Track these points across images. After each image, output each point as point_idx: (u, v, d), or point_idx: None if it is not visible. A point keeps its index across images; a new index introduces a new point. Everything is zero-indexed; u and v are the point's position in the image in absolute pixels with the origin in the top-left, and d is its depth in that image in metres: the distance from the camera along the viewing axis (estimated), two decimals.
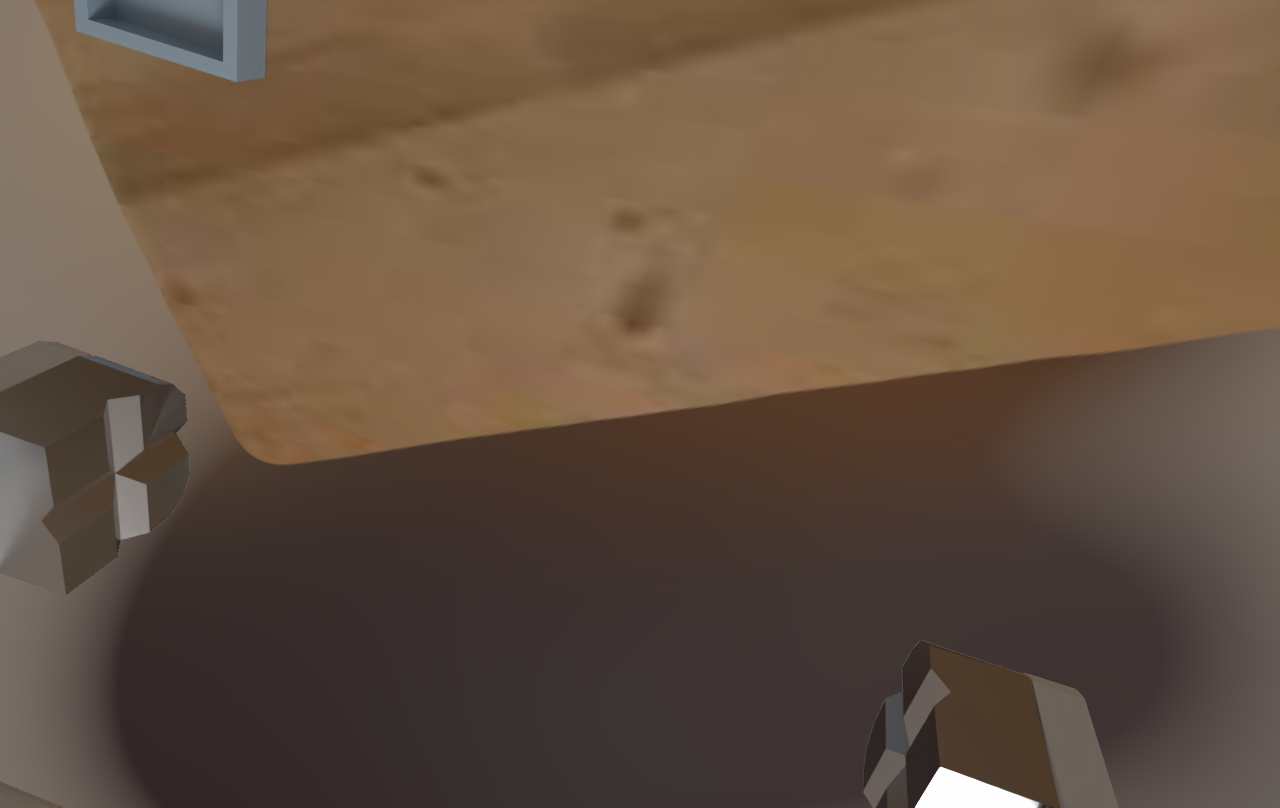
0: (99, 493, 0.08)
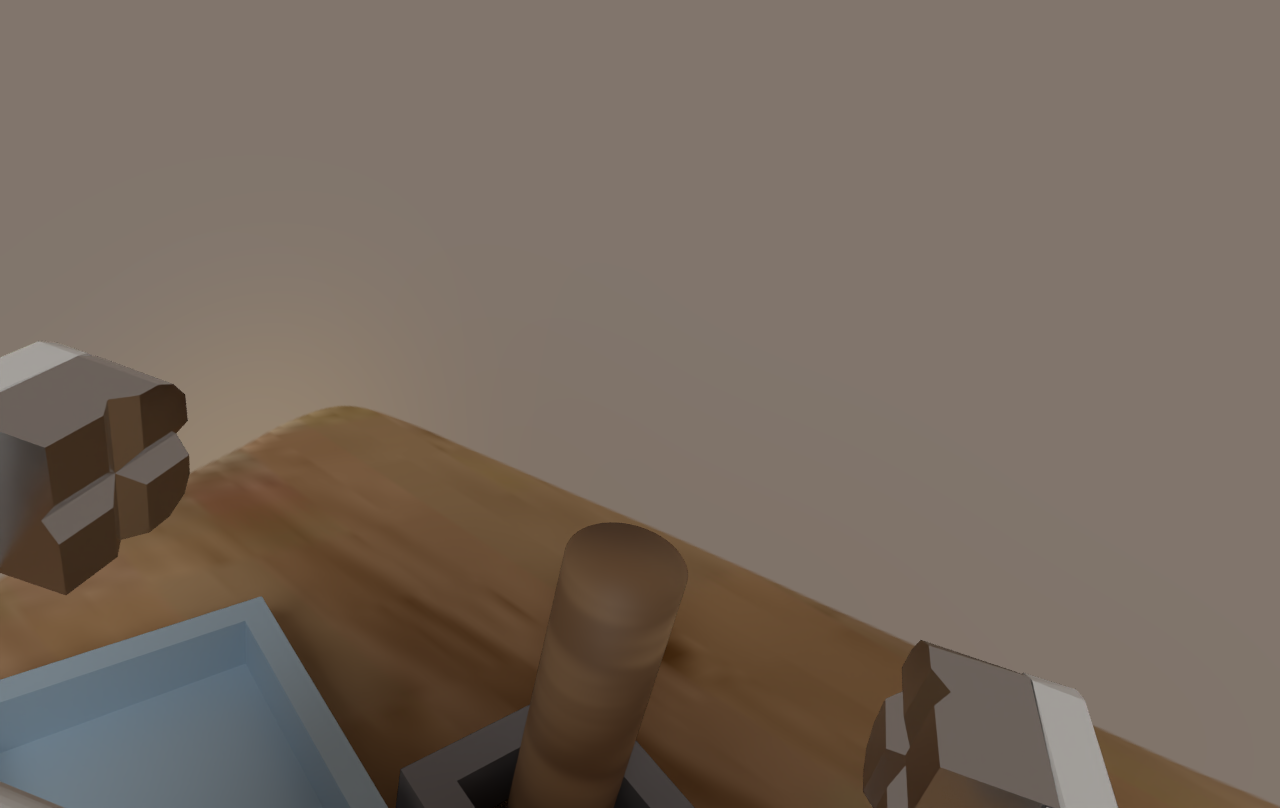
0: (99, 493, 0.08)
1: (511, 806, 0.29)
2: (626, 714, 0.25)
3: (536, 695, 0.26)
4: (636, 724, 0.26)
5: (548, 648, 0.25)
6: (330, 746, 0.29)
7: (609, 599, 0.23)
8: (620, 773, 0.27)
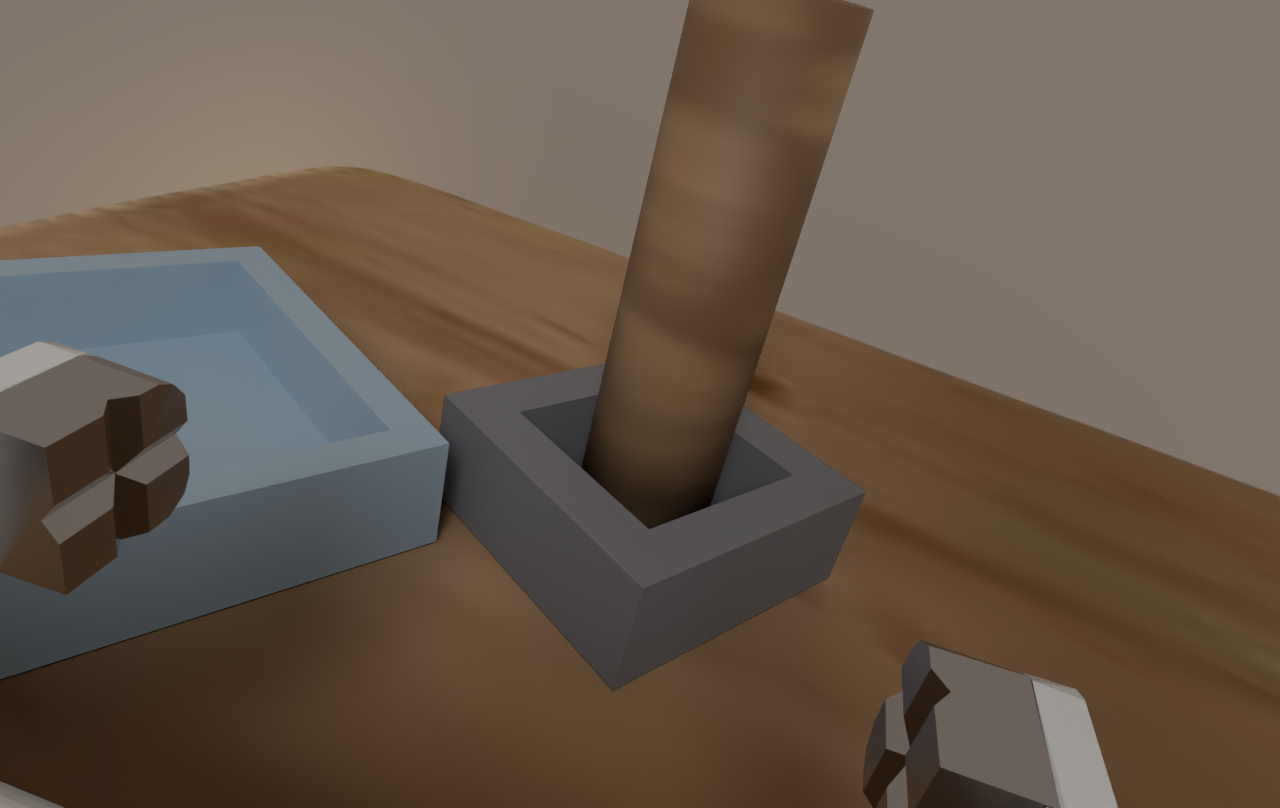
0: (99, 493, 0.08)
1: (595, 434, 0.21)
2: (776, 233, 0.18)
3: (642, 229, 0.19)
4: (782, 268, 0.19)
5: (666, 134, 0.18)
6: (350, 366, 0.22)
7: None
8: (752, 361, 0.20)
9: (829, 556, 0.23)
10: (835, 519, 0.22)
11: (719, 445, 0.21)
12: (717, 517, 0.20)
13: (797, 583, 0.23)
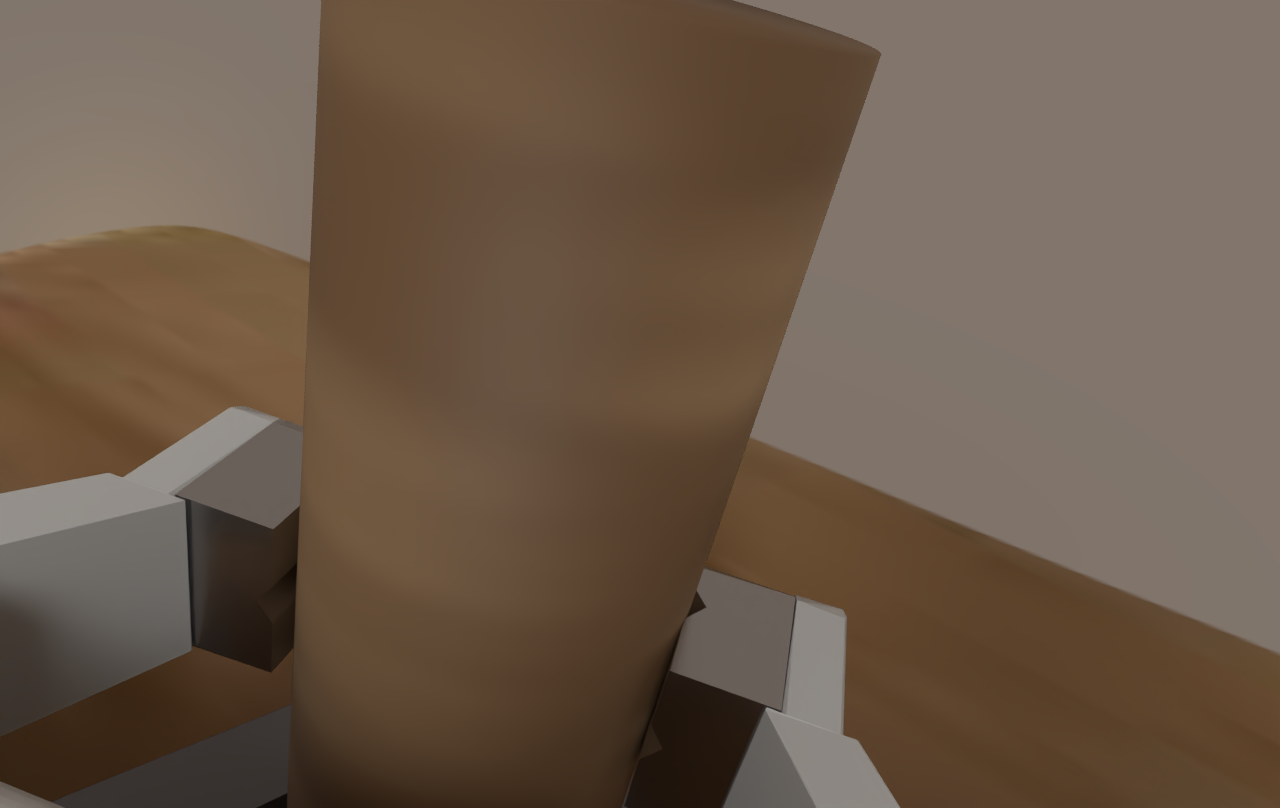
0: None
1: None
2: (612, 651, 0.07)
3: None
4: (647, 693, 0.07)
5: (305, 387, 0.06)
6: None
7: None
8: None
9: None
10: None
11: None
12: None
13: None
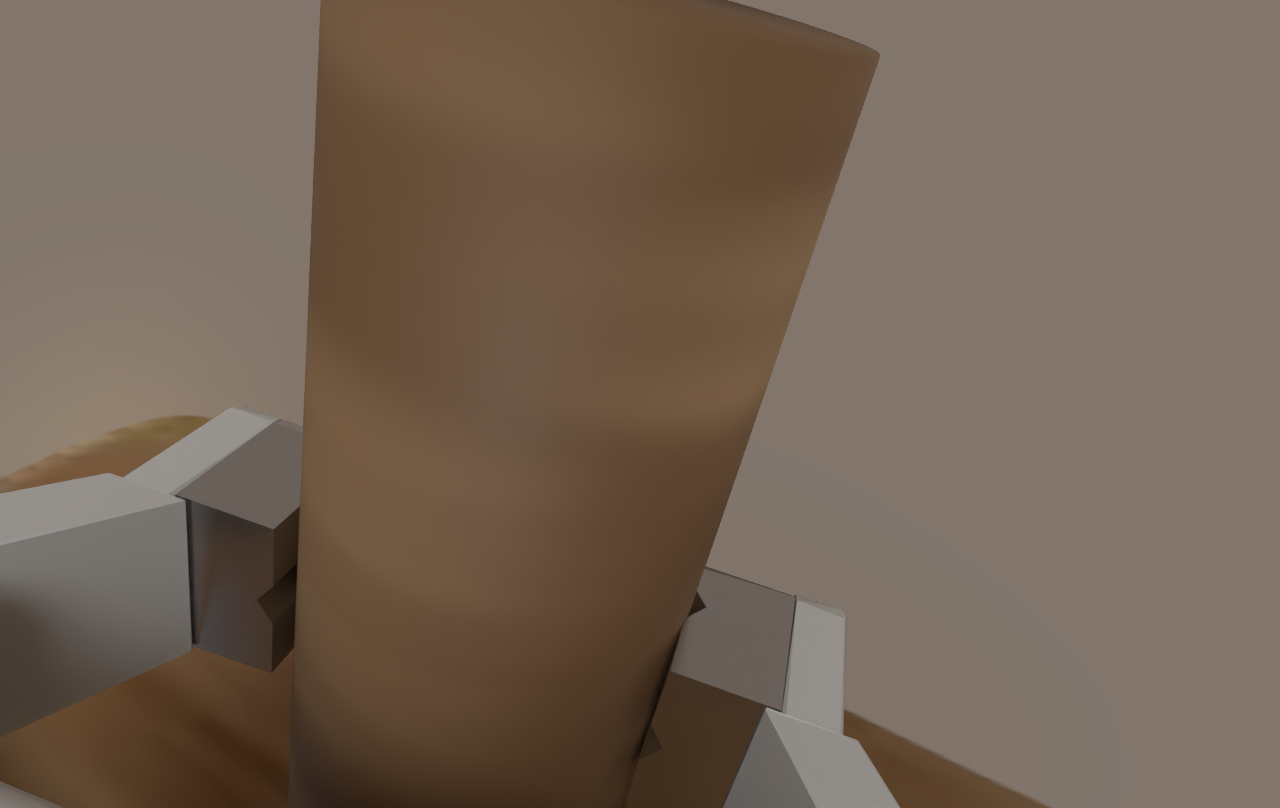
0: None
1: None
2: (613, 653, 0.06)
3: (296, 592, 0.07)
4: (647, 694, 0.07)
5: (306, 390, 0.06)
6: None
7: None
8: None
9: None
10: None
11: None
12: None
13: None
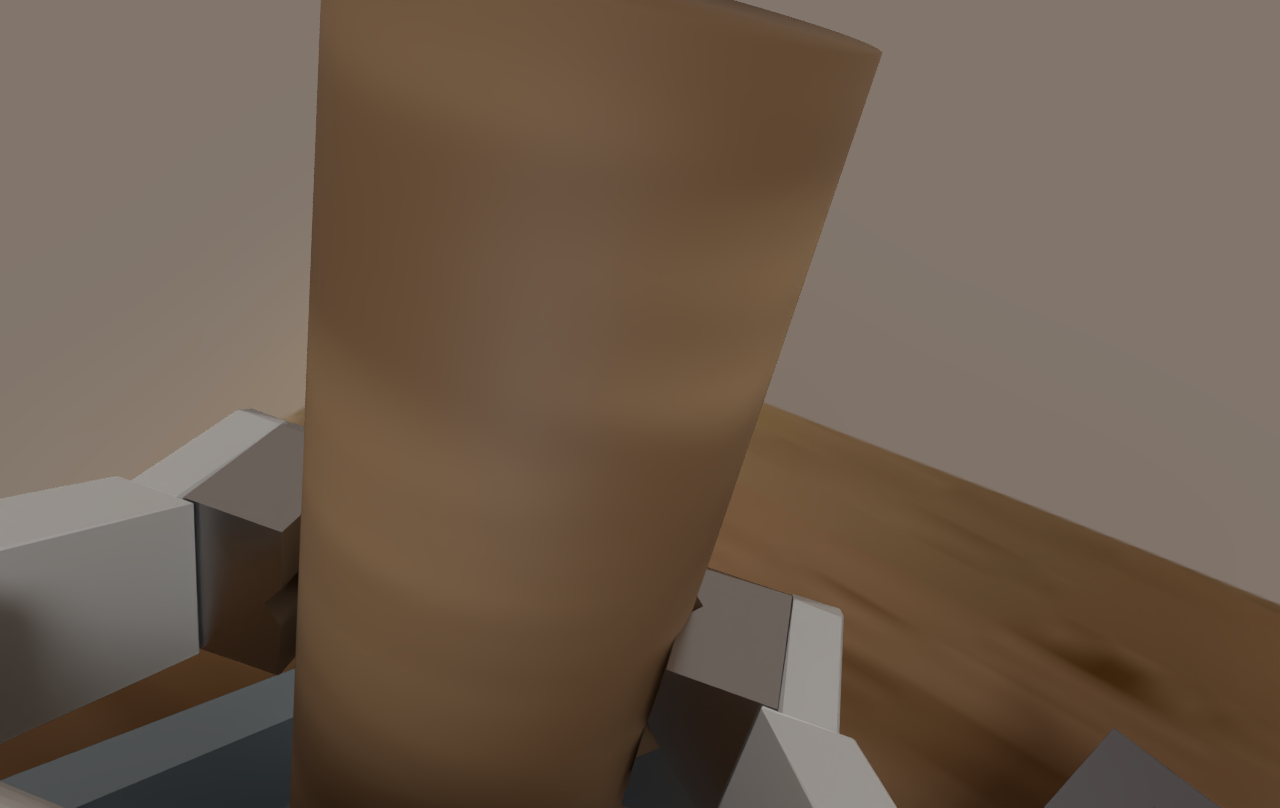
0: None
1: None
2: (615, 654, 0.06)
3: None
4: (650, 695, 0.07)
5: (306, 390, 0.06)
6: None
7: None
8: None
9: None
10: None
11: None
12: None
13: None
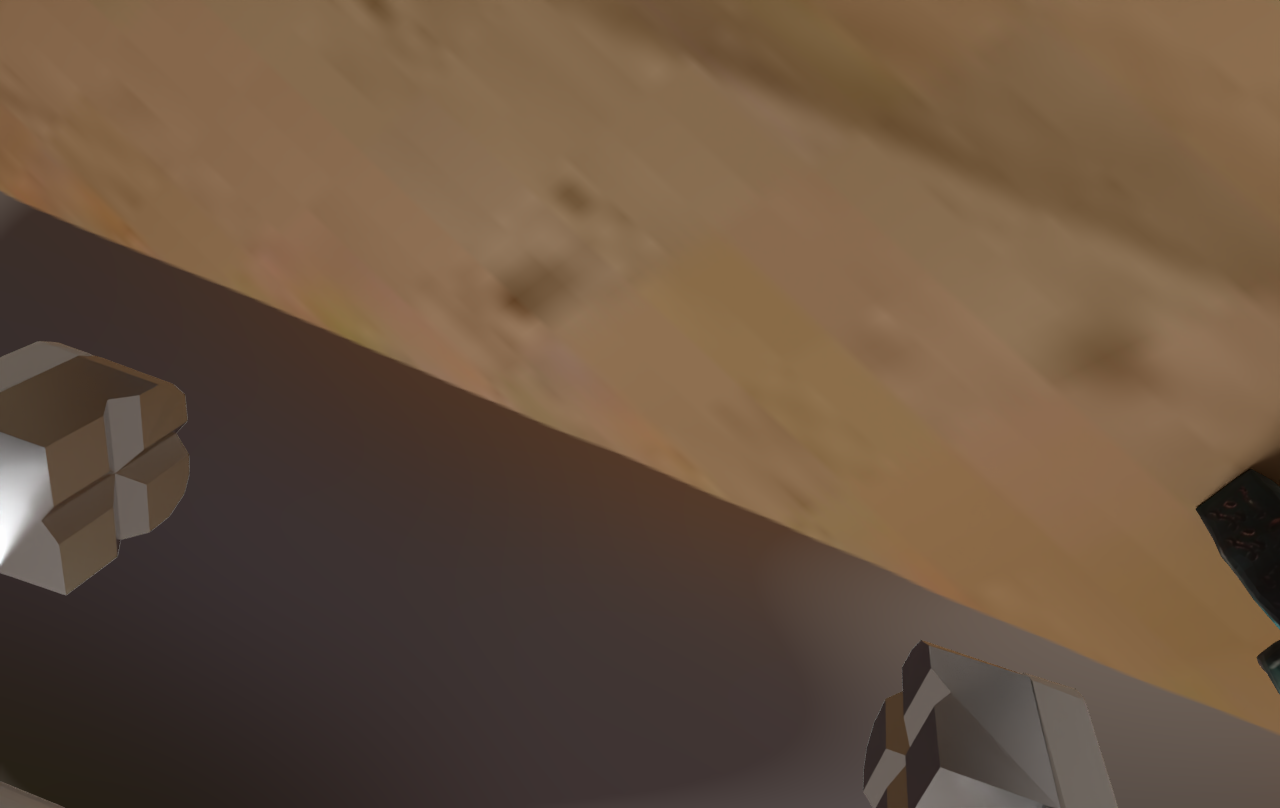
0: (99, 493, 0.08)
1: None
2: None
3: None
4: None
5: None
6: None
7: None
8: None
9: None
10: None
11: None
12: None
13: None
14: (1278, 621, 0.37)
